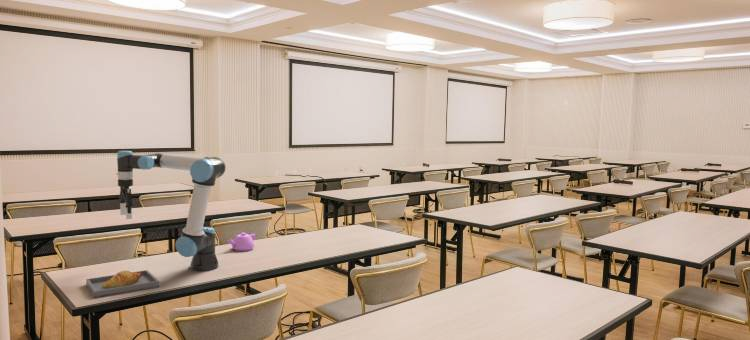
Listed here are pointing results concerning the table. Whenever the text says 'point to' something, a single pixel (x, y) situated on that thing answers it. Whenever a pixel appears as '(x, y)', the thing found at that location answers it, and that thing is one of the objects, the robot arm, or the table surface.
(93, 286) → the serving tray
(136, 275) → the croissant
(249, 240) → the teapot
